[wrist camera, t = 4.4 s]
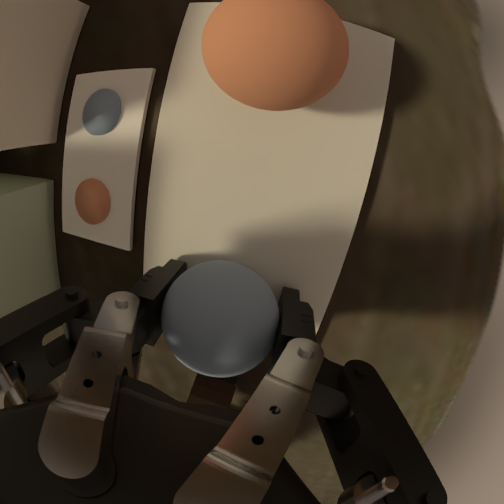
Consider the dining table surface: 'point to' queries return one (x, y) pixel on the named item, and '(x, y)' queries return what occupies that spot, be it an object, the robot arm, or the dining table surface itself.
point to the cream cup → (35, 67)
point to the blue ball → (220, 318)
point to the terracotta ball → (275, 51)
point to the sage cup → (26, 241)
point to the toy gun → (212, 390)
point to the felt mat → (264, 169)
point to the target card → (104, 154)
